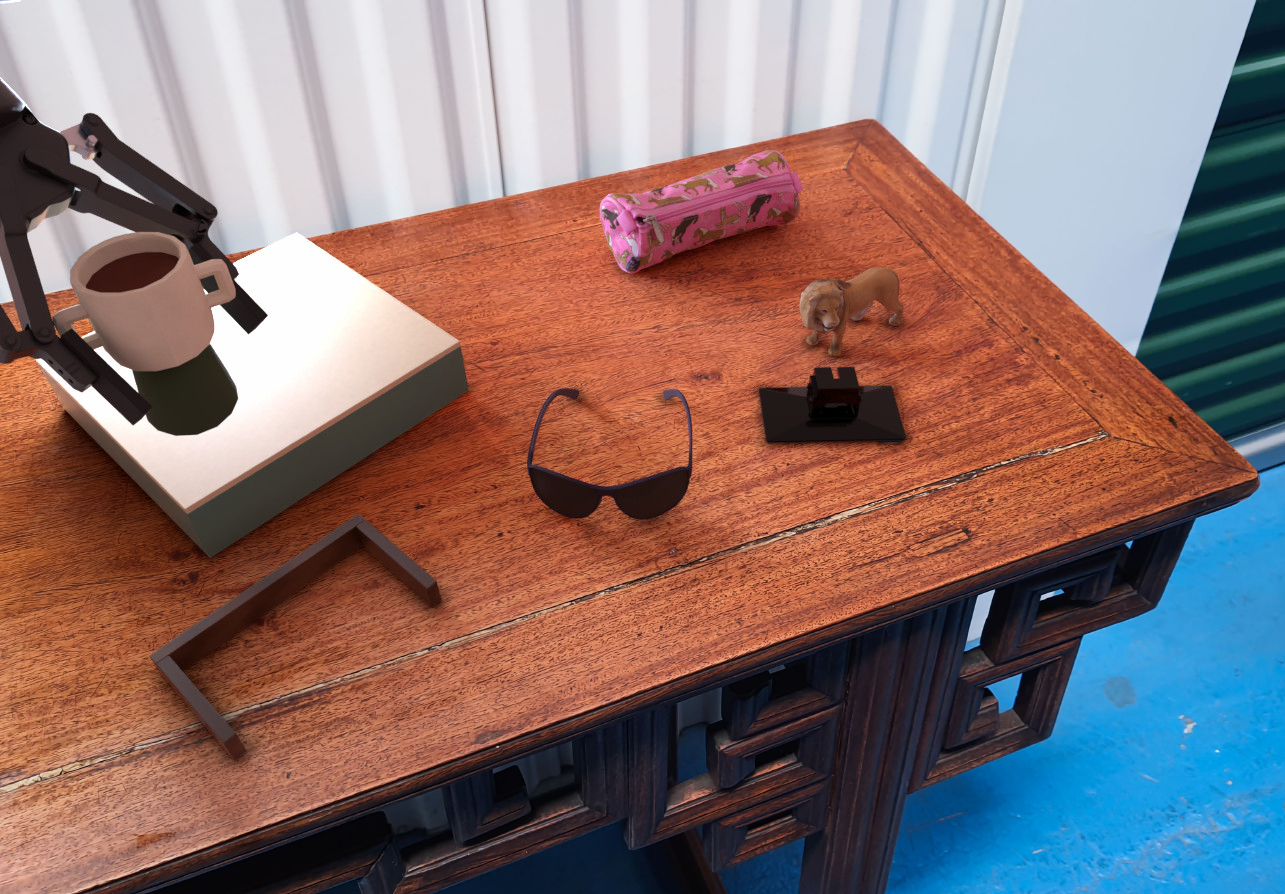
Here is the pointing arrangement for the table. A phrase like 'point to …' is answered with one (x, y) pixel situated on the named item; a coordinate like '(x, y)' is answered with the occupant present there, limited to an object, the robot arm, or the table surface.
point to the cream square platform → (284, 395)
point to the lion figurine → (848, 303)
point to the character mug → (157, 325)
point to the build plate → (831, 411)
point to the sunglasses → (631, 498)
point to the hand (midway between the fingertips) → (203, 368)
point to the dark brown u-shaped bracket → (267, 597)
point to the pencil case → (700, 210)
